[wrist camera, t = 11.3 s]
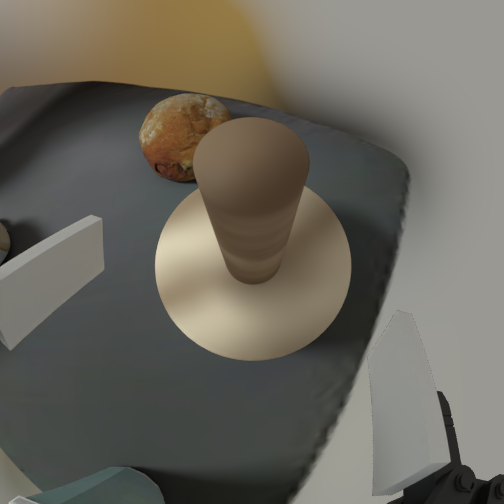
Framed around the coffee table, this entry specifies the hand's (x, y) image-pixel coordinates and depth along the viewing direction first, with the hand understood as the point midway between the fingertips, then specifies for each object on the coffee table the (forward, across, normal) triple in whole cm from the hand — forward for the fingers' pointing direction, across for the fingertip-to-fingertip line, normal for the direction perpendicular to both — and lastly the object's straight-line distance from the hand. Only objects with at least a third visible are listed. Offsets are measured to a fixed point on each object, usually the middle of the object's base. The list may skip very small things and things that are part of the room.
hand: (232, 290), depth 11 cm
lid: (+7, 0, -2) cm, 8 cm away
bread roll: (+19, -11, +2) cm, 22 cm away
